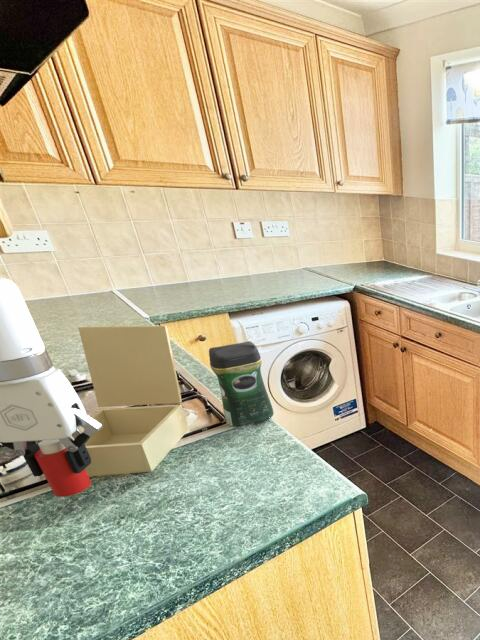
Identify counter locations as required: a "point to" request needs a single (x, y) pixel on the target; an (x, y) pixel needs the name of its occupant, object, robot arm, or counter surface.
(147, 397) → the bin lid
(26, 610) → the counter surface
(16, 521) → the counter surface
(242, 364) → the coffee jar
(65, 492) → the ketchup bottle
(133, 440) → the bin
